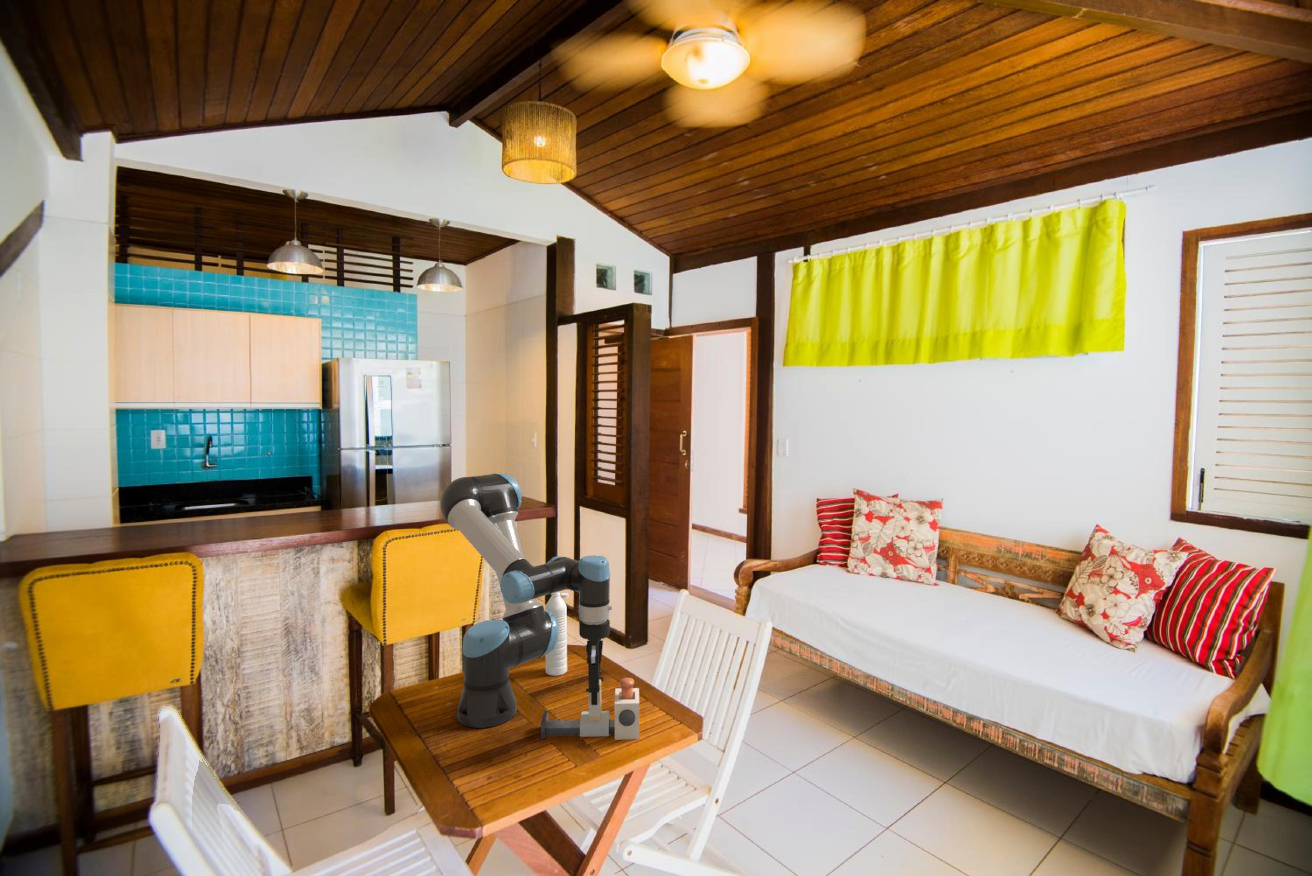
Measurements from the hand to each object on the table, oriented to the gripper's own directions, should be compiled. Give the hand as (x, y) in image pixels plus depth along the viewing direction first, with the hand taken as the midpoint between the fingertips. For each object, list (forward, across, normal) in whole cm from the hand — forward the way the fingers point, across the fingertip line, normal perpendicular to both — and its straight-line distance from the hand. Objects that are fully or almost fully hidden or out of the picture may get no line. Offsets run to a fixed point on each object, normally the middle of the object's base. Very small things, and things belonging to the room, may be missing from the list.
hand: (595, 711), depth 154 cm
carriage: (+5, 0, 0) cm, 5 cm away
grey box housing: (+5, 0, -8) cm, 9 cm away
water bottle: (+5, +34, +13) cm, 37 cm away
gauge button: (-1, 0, -8) cm, 8 cm away
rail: (+5, 0, +3) cm, 6 cm away
